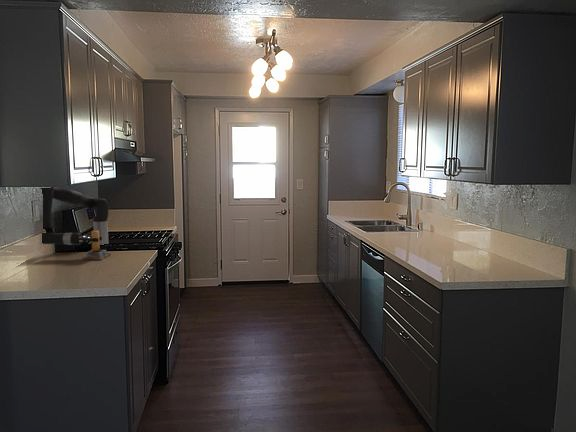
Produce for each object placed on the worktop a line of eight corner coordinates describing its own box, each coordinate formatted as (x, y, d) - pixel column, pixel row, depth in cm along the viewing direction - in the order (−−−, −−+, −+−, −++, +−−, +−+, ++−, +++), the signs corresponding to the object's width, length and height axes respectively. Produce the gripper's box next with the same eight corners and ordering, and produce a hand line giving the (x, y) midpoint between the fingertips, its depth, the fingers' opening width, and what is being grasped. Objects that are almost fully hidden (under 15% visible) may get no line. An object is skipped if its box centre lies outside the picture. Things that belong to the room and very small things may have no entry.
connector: (93, 249, 296) (93, 230, 295) (100, 249, 296) (100, 230, 295) (90, 250, 292) (90, 231, 291) (97, 251, 292) (97, 231, 291)
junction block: (92, 254, 303) (91, 248, 302) (110, 254, 303) (110, 248, 302) (81, 260, 288) (81, 253, 287) (101, 260, 288) (101, 253, 287)
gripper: (66, 234, 286) (95, 235, 286) (77, 231, 300) (104, 231, 300) (67, 246, 287) (95, 247, 287) (78, 242, 301) (104, 243, 301)
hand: (99, 239), depth 293 cm, fingers closed on connector, 4 cm apart
